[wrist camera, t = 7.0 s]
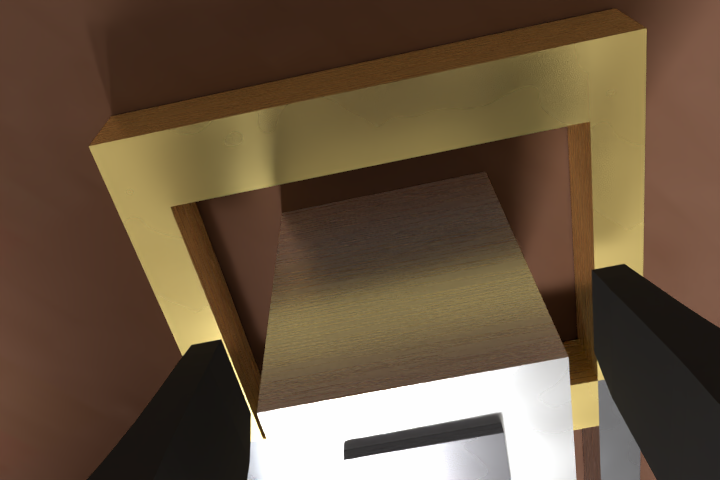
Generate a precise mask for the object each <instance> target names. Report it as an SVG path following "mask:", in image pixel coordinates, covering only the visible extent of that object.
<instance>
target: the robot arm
mask: <svg viewBox="0 0 720 480" xmlns="http://www.w3.org/2000/svg"><path fill="white" fill-rule="evenodd" d="M592 301H593V331H594V353H595V356H596V358H597V361H598V363H599V366H600V369H601V371H602V374H603V377H604V379H605V382H606V384H607V386H608V389H609V391H610V394H611V396H612V399H613V401H614V402H615V404H616V406H617V408H618V410H619V412H620V414H621V415H622V417H623V419H624V421H625V423H626V425H627V426H628V428H629V430H630V432H631V434H632V436H633V437H634V439H635V441H636V443H637V445H638V446H639V448H640V450H641V452H642V454H643V455H644V457H645V459H646V461H647V463H648V464H649V466H650V468H651V470H652V472H653V473H654V475H655V477H656V479H657V480H720V328H719V327H717V326H715V325H714V324H712V323H711V322H709V321H708V320H706V319H704V318H703V317H701V316H700V315H698V314H697V313H695V312H694V311H692V310H691V309H689V308H688V307H686V306H685V305H683V304H682V303H680V302H679V301H677V300H676V299H674V298H673V297H671V296H670V295H668V294H667V293H666V292H664V291H663V290H661V289H660V288H658V287H657V286H656V285H654V284H653V283H651V282H650V281H648V280H647V279H646V278H644V277H643V276H641V275H640V274H638V273H637V272H636V271H634V270H633V269H631V268H630V267H628V266H627V265H625V264H620V265H615V266H609V267H604V268H599V269H593V270H592ZM250 446H251V412H250V410H249V407H248V405H247V402H246V400H245V397H244V395H243V392H242V390H241V387H240V385H239V382H238V380H237V377H236V375H235V372H234V370H233V367H232V365H231V362H230V360H229V357H228V355H227V352H226V350H225V347H224V345H223V342H222V340H221V339H220V340H215V341H209V342H204V343H199V344H193V345H191V346H190V347H189V349H188V350H187V351H186V353H185V354H184V355H183V357H182V358H181V360H180V361H179V362H178V364H177V365H176V367H175V368H174V369H173V371H172V372H171V374H170V375H169V376H168V378H167V379H166V381H165V382H164V383H163V385H162V386H161V388H160V389H159V390H158V392H157V393H156V394H155V396H154V397H153V399H152V400H151V401H150V403H149V404H148V405H147V407H146V408H145V409H144V411H143V412H142V413H141V415H140V416H139V417H138V419H137V420H136V421H135V423H134V424H133V425H132V426H131V428H130V429H129V430H128V431H127V433H126V434H125V435H124V436H123V437H122V439H121V440H120V441H119V442H118V444H117V445H116V446H115V447H114V449H113V450H112V451H111V452H110V453H109V455H108V456H107V457H106V458H105V460H104V461H103V462H102V463H101V464H100V465H99V467H98V468H97V469H96V470H95V471H94V472H93V473H92V474H91V476H90V477H89V478H88V479H87V480H247V478H248V471H249V464H250Z"/></svg>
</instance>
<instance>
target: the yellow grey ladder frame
mask: <svg viewBox="0 0 720 480" xmlns="http://www.w3.org/2000/svg"><path fill="white" fill-rule="evenodd" d="M646 42H647V28H645V27H644V26H642V25H641V24H639V23H638V22H636V21H634V20H633V19H631V18H630V17H628V16H627V15H625V14H623V13H622V12H620V11H619V10H617V9H616V8H614V9H609V10H605V11H600V12H595V13H591V14H586V15H581V16H577V17H572V18H567V19H563V20H558V21H553V22H549V23H544V24H539V25H535V26H530V27H525V28H521V29H516V30H511V31H507V32H502V33H497V34H493V35H488V36H483V37H479V38H474V39H469V40H465V41H460V42H455V43H451V44H446V45H441V46H437V47H432V48H427V49H423V50H418V51H413V52H409V53H404V54H399V55H395V56H390V57H385V58H381V59H376V60H372V61H367V62H362V63H358V64H353V65H348V66H344V67H339V68H334V69H330V70H325V71H320V72H316V73H311V74H306V75H302V76H297V77H292V78H288V79H283V80H278V81H274V82H269V83H264V84H260V85H255V86H250V87H246V88H241V89H236V90H232V91H227V92H222V93H218V94H213V95H208V96H204V97H199V98H194V99H190V100H185V101H180V102H176V103H171V104H166V105H162V106H157V107H152V108H148V109H143V110H138V111H134V112H129V113H124V114H120V115H115V116H111V117H110V119H109V120H108V121H107V123H106V124H105V125H104V127H103V128H102V129H101V131H100V132H99V133H98V135H97V136H96V137H95V139H94V140H93V141H92V143H91V144H90V145H89V148H90V151H91V153H92V155H93V157H94V159H95V162H96V164H97V166H98V168H99V171H100V173H101V175H102V177H103V180H104V182H105V184H106V186H107V189H108V191H109V193H110V195H111V197H112V200H113V202H114V204H115V206H116V209H117V211H118V213H119V215H120V218H121V220H122V222H123V224H124V226H125V229H126V231H127V233H128V235H129V238H130V240H131V242H132V244H133V247H134V249H135V251H136V253H137V256H138V258H139V260H140V262H141V264H142V267H143V269H144V271H145V273H146V276H147V278H148V280H149V282H150V285H151V287H152V289H153V291H154V293H155V296H156V298H157V300H158V302H159V305H160V307H161V309H162V311H163V314H164V316H165V318H166V320H167V323H168V325H169V327H170V329H171V331H172V334H173V336H174V338H175V340H176V343H177V345H178V347H179V349H180V352H181V354H182V356H183V355H184V354H185V353H186V351H187V350H188V349H189V347H190V346H191V345H193V344H199V343H204V342H209V341H215V340H220V339H221V340H222V342H223V345H224V347H225V350H226V352H227V355H228V357H229V360H230V362H231V365H232V367H233V370H234V372H235V375H236V377H237V380H238V382H239V385H240V387H241V390H242V392H243V395H244V397H245V400H246V402H247V405H248V407H249V410H250V412H251V446H250V464H249V471H248V478H247V480H283V477H282V475H281V472H280V470H279V467H278V465H277V462H276V460H275V457H274V455H273V452H272V450H271V447H270V445H269V442H268V440H267V437H266V435H265V432H264V430H263V428H262V425H261V423H260V420H259V418H258V415H257V408H258V400H259V392H260V384H261V375H260V372H259V370H258V367H257V364H256V362H255V359H254V356H253V354H252V351H251V348H250V346H249V343H248V340H247V338H246V335H245V333H244V330H243V327H242V325H241V322H240V319H239V317H238V314H237V311H236V309H235V306H234V303H233V301H232V298H231V295H230V293H229V290H228V287H227V285H226V282H225V279H224V277H223V274H222V271H221V269H220V266H219V263H218V261H217V258H216V255H215V253H214V250H213V247H212V245H211V242H210V239H209V237H208V234H207V232H206V229H205V226H204V224H203V221H202V218H201V216H200V213H199V210H198V208H197V205H196V202H197V201H201V200H206V199H211V198H216V197H221V196H226V195H231V194H236V193H241V192H246V191H251V190H256V189H261V188H265V187H270V186H275V185H280V184H285V183H290V182H295V181H300V180H305V179H310V178H315V177H320V176H325V175H330V174H334V173H339V172H344V171H349V170H354V169H359V168H364V167H369V166H374V165H379V164H384V163H389V162H394V161H398V160H403V159H408V158H413V157H418V156H423V155H428V154H433V153H438V152H443V151H448V150H453V149H458V148H463V147H467V146H472V145H477V144H482V143H487V142H492V141H497V140H502V139H507V138H512V137H517V136H522V135H527V134H532V133H536V132H541V131H546V130H551V129H556V128H561V127H566V126H567V127H568V148H569V168H570V189H571V209H572V230H573V251H574V271H575V292H576V313H577V333H578V339H576V340H570V341H565V342H562V344H563V346H564V348H565V350H566V353H567V355H568V358H569V373H570V389H571V404H572V419H573V430H577V429H582V436H583V457H584V478H585V480H640V448H639V446H638V445H637V443H636V441H635V439H634V437H633V436H632V434H631V432H630V430H629V428H628V426H627V425H626V423H625V421H624V419H623V417H622V415H621V414H620V412H619V410H618V408H617V406H616V404H615V402H614V401H613V399H612V396H611V394H610V391H609V389H608V386H607V384H606V382H605V379H604V377H603V374H602V371H601V369H600V366H599V363H598V361H597V358H596V356H595V353H594V331H593V301H592V270H593V269H599V268H604V267H609V266H615V265H620V264H625V265H627V266H628V267H630V268H631V269H633V270H634V271H636V272H637V273H638V274H640V275H641V276H643V240H644V174H645V108H646Z"/></svg>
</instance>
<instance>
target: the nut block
mask: <svg viewBox="0 0 720 480" xmlns="http://www.w3.org/2000/svg"><path fill="white" fill-rule="evenodd" d="M257 415H258V418H259V420H260V423H261V425H262V428H263V430H264V432H265V435H266V437H267V440H268V442H269V445H270V447H271V450H272V452H273V455H274V457H275V460H276V462H277V465H278V467H279V470H280V472H281V475H282V477H283V480H576V466H575V450H574V435H573V419H572V404H571V389H570V373H569V358H568V355H567V353H566V350H565V348H564V346H563V344H562V341H561V339H560V337H559V335H558V332H557V330H556V328H555V326H554V324H553V321H552V319H551V317H550V315H549V312H548V310H547V308H546V306H545V303H544V301H543V299H542V297H541V294H540V292H539V290H538V288H537V286H536V283H535V281H534V279H533V277H532V274H531V272H530V270H529V268H528V265H527V263H526V261H525V259H524V256H523V254H522V252H521V250H520V248H519V245H518V243H517V241H516V239H515V236H514V234H513V232H512V230H511V227H510V225H509V223H508V221H507V218H506V216H505V214H504V212H503V209H502V207H501V205H500V203H499V201H498V198H497V196H496V194H495V192H494V189H493V187H492V185H491V183H490V180H489V178H488V176H487V174H486V171H485V172H481V173H476V174H471V175H466V176H461V177H456V178H451V179H446V180H441V181H436V182H432V183H427V184H422V185H417V186H412V187H407V188H402V189H397V190H392V191H388V192H383V193H378V194H373V195H368V196H363V197H358V198H353V199H348V200H343V201H339V202H334V203H329V204H324V205H319V206H314V207H309V208H304V209H299V210H294V211H290V212H285V213H282V217H281V225H280V233H279V241H278V249H277V257H276V265H275V272H274V280H273V288H272V296H271V304H270V312H269V320H268V328H267V336H266V344H265V352H264V360H263V368H262V376H261V384H260V392H259V400H258V408H257Z"/></svg>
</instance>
